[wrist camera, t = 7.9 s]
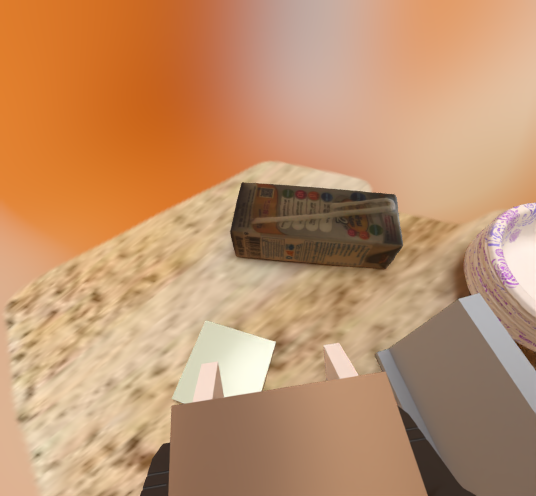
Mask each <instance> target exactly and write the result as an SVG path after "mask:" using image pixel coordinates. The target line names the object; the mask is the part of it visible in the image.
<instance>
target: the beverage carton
mask: <svg viewBox="0 0 536 496" xmlns="http://www.w3.org/2000/svg"><path fill="white" fill-rule="evenodd" d="M230 234H231V238H232V242H233V246H234V250H235V254H236V256H242V257H250V258H260V259H270V260H281V261H294V262H306V263H318V264H329V265H340V266H352V267H369V268H381V269H386V267H387V266H388V265H390V264H391V262H392V261H393V260H394V258H395V256H396V254H397V253H398V252H399V251H400V249H401V248H402V247H403V241H402V234H401V228H400V222H399V213H398V205H397V198H396V195H394V194H383V193H370V192H362V191H350V190H337V189H326V188H314V187H301V186H289V185H274V184H259V183H244V182H242V183H241V187H240V191H239V195H238V199H237V203H236V208H235V212H234V217H233V222H232V226H231V231H230Z"/></svg>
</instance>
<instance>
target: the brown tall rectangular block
mask: <svg viewBox="0 0 536 496" xmlns="http://www.w3.org/2000/svg"><path fill="white" fill-rule="evenodd" d="M168 496H428V495H427V492H426V489H425V486H424V483H423V480H422V477H421V474H420V471H419V468H418V465H417V462H416V460H415V457H414V454H413V451H412V448H411V445H410V442H409V439H408V436H407V433H406V430H405V427H404V424H403V421H402V418H401V415H400V412H399V409H398V406H397V403H396V400H395V397H394V395H393V392H392V389H391V386H390V383H389V380H388V377H387V374H386V371H385V372H379V373H373V374H366V375H360V376H354V377H348V378H341V379H335V380H329V381H323V382H317V383H310V384H304V385H298V386H292V387H285V388H279V389H273V390H267V391H260V392H254V393H248V394H242V395H235V396H229V397H223V398H217V399H210V400H204V401H198V402H192V403H185V404H179V405H173V406H172V409H171V437H170V464H169V492H168Z"/></svg>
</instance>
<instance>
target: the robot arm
mask: <svg viewBox="0 0 536 496" xmlns="http://www.w3.org/2000/svg"><path fill="white" fill-rule="evenodd" d="M323 346H324V358H325V370H326V381H329V380H335V379H341V378H348V377H354V376H359V375H358V374H357V372H356V370H355V369H354V367H353V365H352V364H351V362H350V360H349V359H348V357H347V355H346V354H345V352H344V350H343V349H342V347H341V345H340V344H339V343H335V344H328V345H323ZM223 397H224V393H223V387H222V382H221V376H220V370H219V365H218V361H217V362H211V363H204V364H201V368H200V373H199V377H198V381H197V385H196V389H195V393H194V397H193V402H198V401H204V400H210V399H217V398H223ZM397 406H398V405H397ZM398 409H399V412H400V415H401V418H402V421H403V424H404V427H405V430H406V433H407V436H408V439H409V442H410V445H411V448H412V451H413V454H414V457H415V460H416V462H417V465H418V468H419V471H420V474H421V477H422V480H423V483H424V486H425V489H426V492H427V495H428V496H476V495H475V494H473V493H471V492H470V491H468V490H466V489H464V488H463V487H462V486H461V485H460V484H459V483H458V482H457V480H456V479H455V477H454V476H453V475H452V473H451V472H450V470H449V469H448V468H447V466H446V465H445V463H444V462H443V461H442V459H441V458H440V457H439V455H438V454H437V452H436V451H435V450H434V448H433V447H432V445H431V444H430V443H429V441H428V440H426V437H425V436H424V434H423V433H422V432H421V430H420V429H418V426H417V425H416V423H415V422H414V421H413V419H412V418H411V416H410V415H409V414H408V413H407V412H406V411H404V410H403V409H402V408H400V407H399V406H398ZM169 464H170V443H165V444H163V445H162V446H161V447H160V449H159V450H158V452H157V453H156V454H155V456H154V457H153V459H152V462H151V465H150V468H149V471H148V474H147V477H146V480H145V483H144V486H143V491H142V492H141V494H140V496H168V492H169Z"/></svg>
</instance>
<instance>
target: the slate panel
mask: <svg viewBox="0 0 536 496" xmlns="http://www.w3.org/2000/svg"><path fill="white" fill-rule="evenodd" d="M375 356H376V358H377V360H378V362H379V365H380V367H381V369H382V371H383V372H385V371H386V374H387V377H388V380H389V383H390V386H391V389H392V392H393V395H394V397H395V400H396V402H397V404H398V406H399V407H400V408H402V409H403V410H404V411H406V412H407V413H408V414H409V415H410V416H411V418H412V419H413V421H414V422H415V423H416V425H417V426H418V429H420V430H421V432H422V433H423V434H424V436H425V437H426V440H428V441H429V443H430V444H431V445H432V447H433V448H434V450H435V451H436V452H437V454H438V455H439V457H440V458H441V459H442V461H443V462H444V463H445V465H446V466H447V468H448V469H449V470H450V472H451V473H452V475H453V476H454V477H455V479H456V480H457V482H458V483H459V484H460V485H461V486H462V487H463V488H464V489H466V490H468V491H470V492H471V493H473V494H475V495H476V496H536V370H535V369H534V368H533V366H532V365H531V364H530V362H529V361H528V359H527V358H526V357H525V355H524V354H523V353H522V351H521V350H520V348H519V347H518V346H517V344H516V343H515V342H514V340H513V339H512V337H511V336H510V335H509V333H508V332H507V330H506V329H505V328H504V326H503V325H502V324H501V322H500V321H499V319H498V318H497V317H496V315H495V314H494V313H493V311H492V310H491V308H490V307H489V306H488V304H487V303H486V302H485V300H484V299H483V297H482V296H481V295H480V293H478V294H474V295H471V296H467V297H464V298H460V299H458V300H456V301H455V302H453V303H452V304H451V305H449V306H448V307H446V308H445V309H444V310H442V311H441V312H439V313H438V314H437V315H435V316H434V317H432V318H431V319H430V320H428V321H427V322H425V323H424V324H423V325H421V326H420V327H418V328H417V329H416V330H414V331H413V332H411V333H410V334H409V335H407V336H406V337H404V338H403V339H402V340H400V341H399V342H397V343H396V344H395V345H393V346H392V347H390V348H389V349H387V350H383V351H380V352H377V353H376V354H375Z"/></svg>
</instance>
